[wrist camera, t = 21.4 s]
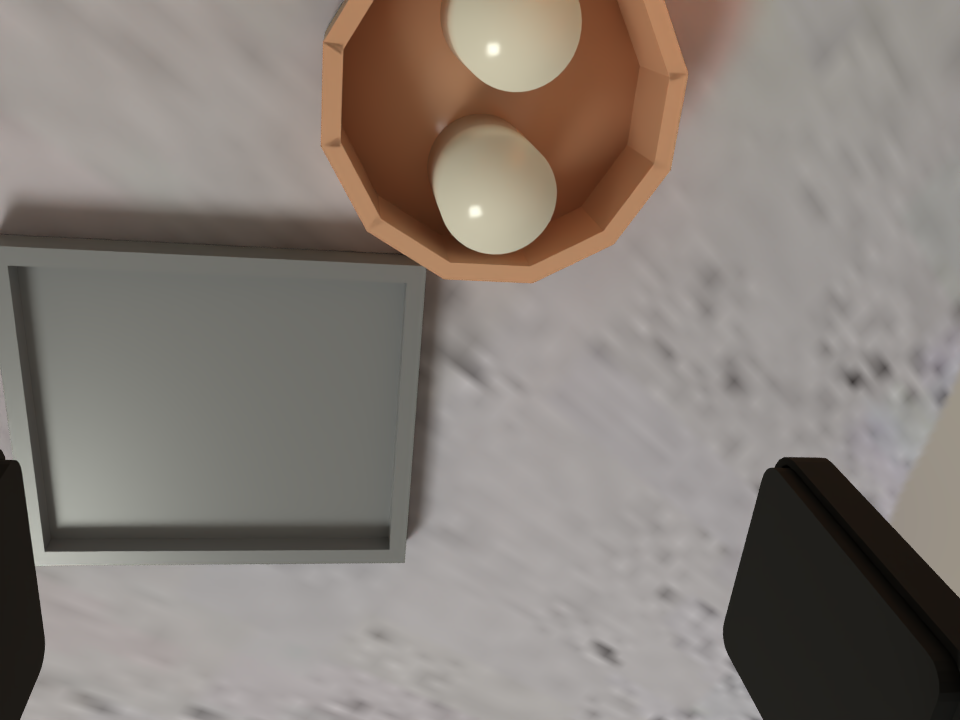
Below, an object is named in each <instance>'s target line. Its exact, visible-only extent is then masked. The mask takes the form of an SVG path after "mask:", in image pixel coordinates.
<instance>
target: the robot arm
mask: <svg viewBox="0 0 960 720" xmlns="http://www.w3.org/2000/svg"><path fill="white" fill-rule="evenodd" d="M723 638H724V644H725V648H726V651H727V653H728V655H729V657H730V659H731V661H732V663H733V665H734V666H735V668H736V670H737V672H738V674H739V676H740V677H741V679H742V681H743V683H744V685H745V687H746V689H747V690H748V692H749V694H750V696H751V698H752V700H753V702H754V703H755V705H756V707H757V709H758V711H759V713H760V714H761V716H762V718H763V720H960V598H959V597H958V596H957V595H956V594H955V593H954V592H953V591H952V590H951V589H950V588H949V586H948V585H946V583H945V582H944V581H943V580H942V579H941V578H940V577H939V576H938V575H937V574H936V573H935V572H934V571H933V570H932V568H931V567H929V565H928V564H927V563H926V562H925V561H924V560H923V559H922V558H921V557H920V556H919V555H918V554H917V553H916V551H915V550H914V549H913V548H912V547H911V546H910V545H909V544H908V543H907V542H906V541H905V540H904V539H903V538H902V537H901V536H900V534H898V532H897V531H896V530H895V529H894V528H893V527H892V526H891V525H890V524H889V523H888V522H887V521H886V520H885V519H884V518H883V516H882V515H881V514H880V513H879V512H878V511H877V510H876V509H875V508H874V507H873V506H872V505H871V504H870V503H869V502H868V501H867V500H866V498H865V497H864V496H863V495H862V494H861V493H860V492H859V491H858V490H857V489H856V488H855V487H854V486H853V485H852V484H851V483H850V481H849V480H848V479H847V478H846V477H845V476H844V475H843V474H842V473H841V472H840V471H839V470H838V469H837V468H836V467H835V466H834V465H833V463H832V462H830V461H829V460H828V459H826V458H805V457H784V458H782V459H780V460H779V461H778V462H777V464H776V465H775V468H769V469H767V470H766V472H765V473H764V475H763V478H762V481H761V485H760V489H759V493H758V496H757V500H756V504H755V508H754V512H753V515H752V519H751V523H750V527H749V530H748V534H747V538H746V542H745V546H744V549H743V553H742V557H741V561H740V564H739V568H738V572H737V576H736V580H735V583H734V587H733V591H732V595H731V598H730V602H729V606H728V610H727V614H726V617H725V621H724V626H723ZM44 651H45V636H44V629H43V622H42V614H41V607H40V600H39V592H38V585H37V578H36V570H35V563H34V555H33V548H32V541H31V533H30V526H29V519H28V511H27V504H26V497H25V489H24V482H23V475H22V469H21V466H20V464H19V462H18V461H17V460H5V456H4V454H3V452H2V450H0V720H20V718H21V716H22V713H23V711H24V709H25V706H26V704H27V702H28V699H29V697H30V694H31V692H32V690H33V687H34V685H35V683H36V680H37V678H38V675H39V673H40V670H41V667H42V663H43V659H44Z"/></svg>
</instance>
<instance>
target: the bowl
mask: <svg viewBox="0 0 960 720" xmlns="http://www.w3.org/2000/svg"><path fill="white" fill-rule="evenodd" d="M441 3H442V0H344V2H343V3H342V5H341V6H340V8H339V10H338V11H337V13H336V15H335V16H334V18H333V20H332V21H331V23H330V25H329V26H328V28H327V30H326V32H325V36H324V40H323V71H322V117H321V147H322V149H323V151H324V153H325V155H326V156H327V158H328V160H329V162H330V164H331V166H332V168H333V169H334V171H335V173H336V175H337V177H338V179H339V181H340V182H341V184H342V186H343V188H344V190H345V192H346V193H347V195H348V197H349V199H350V201H351V203H352V205H353V206H354V208H355V210H356V212H357V214H358V216H359V218H360V219H361V221H362V223H363V225H364V227H365V229H366V231H367V232H369V233H371V234H372V235H374V236H375V237H377V238H379V239H380V240H382V241H383V242H385V243H387V244H388V245H390V246H391V247H393V248H395V249H396V250H398V251H399V252H401V253H403V254H404V255H406V256H407V257H409V258H411V259H412V260H414V261H415V262H417V263H419V264H420V265H422V266H424V267H425V268H427V269H428V270H430V271H432V272H433V273H435V274H436V275H438V276H440V277H441V278H443V279H449V280H472V281H494V282H516V283H534V282H536V281H538V280H540V279H542V278H544V277H547V276H549V275H551V274H553V273H555V272H557V271H559V270H561V269H563V268H565V267H567V266H569V265H572V264H574V263H576V262H578V261H580V260H582V259H584V258H586V257H588V256H590V255H592V254H595V253H597V252H599V251H601V250H603V249H605V248H607V247H609V246H611V245H613V244H614V243H615V242H616V241H617V239H618V238H619V237H620V235H621V234H622V233H623V232H624V230H625V229H626V228H627V226H628V225H629V224H630V222H631V221H632V220H633V218H634V217H635V216H636V215H637V213H638V212H639V211H640V209H641V208H642V207H643V205H644V204H645V203H646V201H647V200H648V199H649V198H650V196H651V195H652V194H653V192H654V191H655V190H656V188H657V187H658V186H659V184H660V183H661V182H662V181H663V179H664V178H665V177H666V175H667V174H668V173H669V171H670V170H671V165H672V160H673V154H674V149H675V144H676V138H677V133H678V127H679V122H680V116H681V111H682V106H683V100H684V95H685V89H686V84H687V78H688V71H687V68H686V65H685V62H684V59H683V56H682V53H681V50H680V47H679V44H678V41H677V38H676V35H675V32H674V29H673V25H672V22H671V19H670V16H669V13H668V10H667V7H666V4H665V1H664V0H579V3H580V8H581V17H582V26H581V34H580V40H579V43H578V46H577V49H576V51H575V53H574V56H573V57H572V59H571V61H570V62H569V64H568V65H567V66H566V68H565V69H564V70H563V71H562V72H561V73H560V74H559V75H558V76H557V77H556V78H555V79H553V80H552V81H551V82H549V83H547V84H546V85H544V86H542V87H539V88H537V89H534V90H530V91H524V92H508V91H503V90H499V89H496V88H494V87H491V86H489V85H488V84H486V83H484V82H483V81H481V80H480V79H479V78H478V77H476V76H475V75H474V74H473V73H472V72H471V71H470V70H469V69H468V68H467V67H466V66H465V65H464V64H463V63H462V62H461V61H460V60H459V59H458V58H457V57H456V56H455V55H454V54H453V52H452V51H451V50H450V48H449V46H448V44H447V43H446V40H445V38H444V35H443V31H442V28H441V20H440V11H441ZM473 114H489V115H494V116H497V117H500V118H502V119H504V120H506V121H508V122H509V123H511V124H512V125H513V126H514V127H515V128H516V129H517V130H518V131H519V132H520V133H521V134H522V135H523V136H524V137H525V138H526V139H527V140H528V141H529V142H530V143H531V144H532V145H533V146H534V147H535V148H536V149H537V150H538V151H539V152H540V153H541V154H542V155H543V156H544V157H545V159H546V160H547V162H548V163H549V165H550V167H551V169H552V171H553V174H554V177H555V181H556V187H557V199H556V205H555V209H554V212H553V215H552V217H551V220H550V222H549V223H548V225H547V227H546V228H545V229H544V231H543V232H542V233H541V234H540V235H539V236H538V237H537V238H536V239H535V240H534V241H533V242H531V243H530V244H528V245H527V246H525V247H523V248H521V249H519V250H516V251H514V252H510V253H505V254H485V253H481V252H477V251H475V250H472V249H470V248H468V247H466V246H465V245H463V244H462V243H460V242H459V241H458V240H457V239H456V238H455V237H454V236H453V235H452V234H451V233H450V231H449V230H448V228H447V227H446V225H445V223H444V221H443V218H442V216H441V213H440V210H439V208H438V205H437V202H436V200H435V197H434V194H433V191H432V189H431V186H430V183H429V179H428V173H427V163H428V156H429V153H430V150H431V147H432V145H433V143H434V141H435V139H436V138H437V136H438V135H439V134H440V132H441V131H442V130H443V129H444V128H445V127H447V126H448V125H449V124H450V123H452V122H454V121H455V120H457V119H459V118H462V117H464V116H468V115H473Z"/></svg>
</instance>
